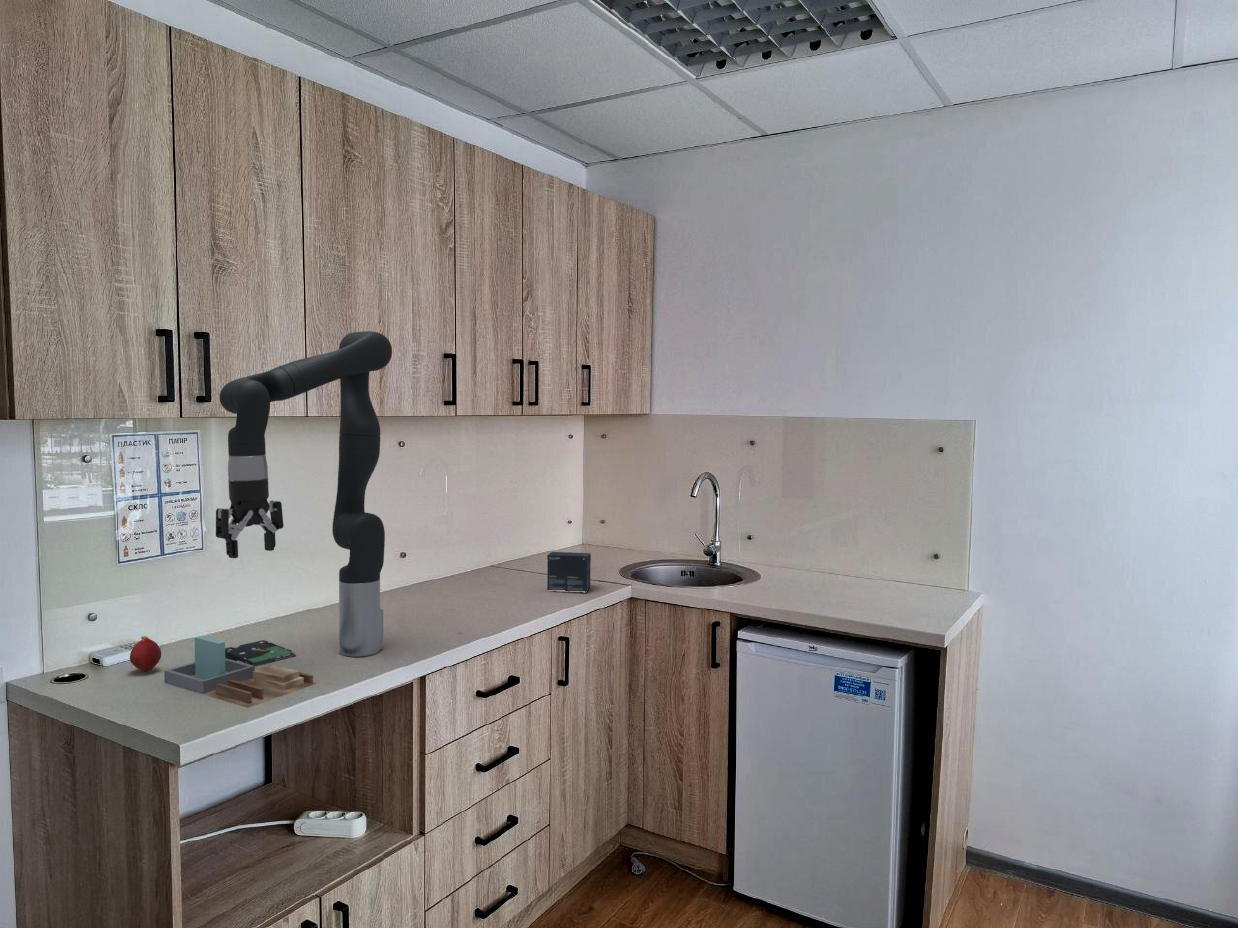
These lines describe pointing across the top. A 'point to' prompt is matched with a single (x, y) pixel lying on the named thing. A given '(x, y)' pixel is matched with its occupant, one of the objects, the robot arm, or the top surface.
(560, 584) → the small box
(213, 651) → the teal rectangular slab
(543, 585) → the top surface
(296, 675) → the offcut upper
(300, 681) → the offcut lower
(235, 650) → the disk drive
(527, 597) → the top surface
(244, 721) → the top surface
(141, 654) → the onion
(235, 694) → the rack
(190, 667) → the tray
